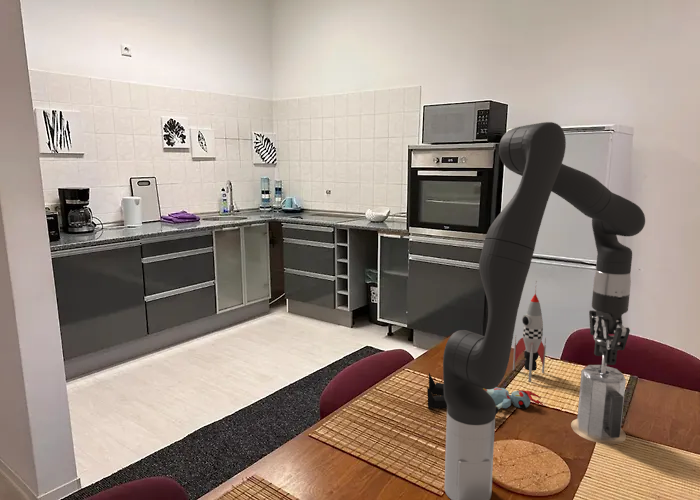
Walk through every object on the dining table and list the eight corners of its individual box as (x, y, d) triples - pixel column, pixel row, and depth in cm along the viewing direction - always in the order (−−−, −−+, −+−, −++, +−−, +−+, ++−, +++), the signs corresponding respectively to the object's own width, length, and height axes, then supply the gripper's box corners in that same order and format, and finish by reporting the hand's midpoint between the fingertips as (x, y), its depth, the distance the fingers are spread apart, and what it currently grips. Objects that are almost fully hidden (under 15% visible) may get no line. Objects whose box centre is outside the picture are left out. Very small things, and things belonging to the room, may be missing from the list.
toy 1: (429, 359, 148) (534, 362, 142) (430, 383, 150) (534, 387, 144) (425, 400, 124) (551, 405, 118) (426, 428, 125) (551, 434, 119)
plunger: (620, 418, 116) (627, 344, 112) (593, 418, 115) (599, 345, 112) (606, 404, 122) (612, 334, 118) (580, 405, 122) (586, 335, 118)
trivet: (636, 446, 114) (636, 443, 114) (585, 446, 114) (585, 444, 114) (609, 419, 126) (609, 417, 125) (562, 419, 126) (562, 417, 125)
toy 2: (510, 369, 155) (516, 277, 150) (533, 366, 158) (539, 275, 152) (529, 382, 147) (535, 285, 141) (552, 378, 149) (559, 282, 144)
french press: (634, 447, 112) (641, 385, 110) (593, 447, 112) (599, 386, 110) (607, 420, 124) (613, 363, 121) (570, 420, 124) (574, 364, 121)
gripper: (580, 282, 120) (575, 348, 123) (611, 299, 106) (604, 373, 109) (611, 282, 120) (604, 348, 123) (646, 298, 106) (638, 372, 109)
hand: (604, 359), depth 116 cm, fingers closed on plunger, 4 cm apart
